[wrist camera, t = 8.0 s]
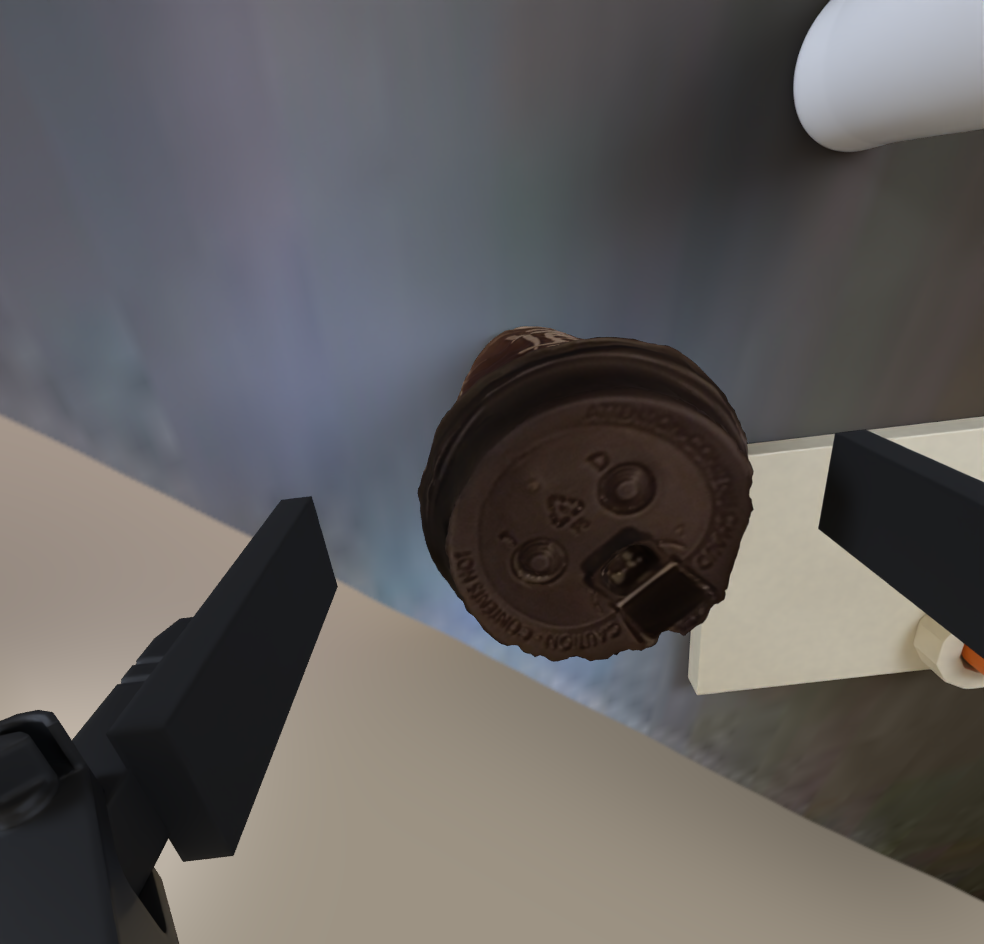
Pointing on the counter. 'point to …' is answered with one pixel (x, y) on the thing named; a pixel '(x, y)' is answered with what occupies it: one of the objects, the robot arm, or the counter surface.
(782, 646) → the scale
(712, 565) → the coffee cup
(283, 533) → the robot arm
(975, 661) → the button
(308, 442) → the counter surface
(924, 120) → the drinking glass
